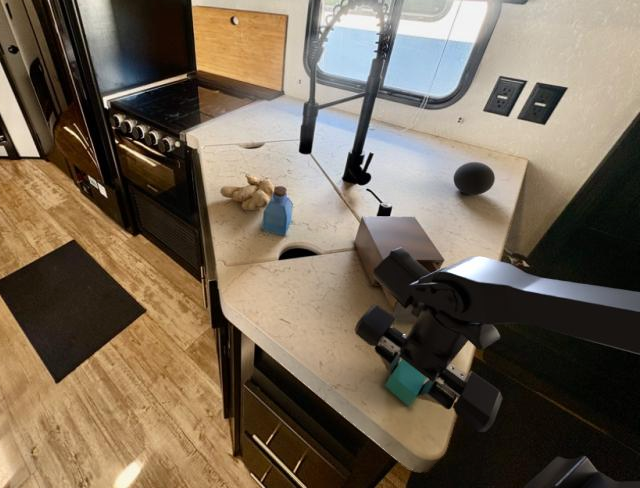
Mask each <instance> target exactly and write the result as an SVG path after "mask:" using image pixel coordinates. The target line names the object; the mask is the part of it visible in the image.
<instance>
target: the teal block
mask: <svg viewBox="0 0 640 488" xmlns="http://www.w3.org/2000/svg"><path fill="white" fill-rule="evenodd" d="M427 380H428V378H427V377H425V376H424V375H423V374H421V373H420V372H419V371H417V370H416V369H415V368H414V367H412V366H411V365H410V364H408V363H407V362H406V361H405V360H403V359H402V358H401V359H400V360H399V363H398V366H397V367H396V369H395V370H394V372H393V373H392V375H391V376H389V378H388V379H387V381H386V383H385V385H384V387H385V388H386V389H388V391H390V392H391V393H392V394H393V395H395V396H396V398H398V399H399V400H401V402H402V403H404V405H406V406H407V407H410V406H411V404H412V403H413V402H414V400H415V399H416V396H417V395H418V393H419V391H420V389H421V388H422V386H423V384H425V383H426V382H427Z"/></svg>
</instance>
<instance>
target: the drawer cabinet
mask: <svg viewBox="0 0 640 488" xmlns="http://www.w3.org/2000/svg"><path fill="white" fill-rule="evenodd" d="M356 231H357V232H356V235H355V238H354V241H353V242H354V244H355V247H356V249H357V252H358V254H359V257H360V259H361V262H362V264H363V267H364V269H365V271H366V274H367V277H368V279H369V281H370V284H371V286H372V287H382V286H381V284H380V283H379V282H378V281H377V280H376V279H375V278H374V277H373V271H374V269H375V268H376V267H377V266H378V265H379V264H380V263H381V262H382V261H383V260H384V259H385V258H386V257H388V256H389V254H390V252H391V251H392V250H394V249H397V248H399V247H402V248H403V249H404V250H406V251H407V252H408V253H409V254H410V256H411V257H412V258H414V259H415V260H416V261H417V262H436V264H437V265H438V267H439V268H440V269H441V268H442V265H444V262H445V258H444V257H443V255H442V254H441V252H440V251H439V249H438V248H437V247H436V245H435V243H433V241H432V240H431V238H430V236H428V234H427V232H426V231H425V230H424V228H423V226H422V225H421V224H420V222H419V221H418V219H417V218H416V216H388V215H387V216H383V215H382V216H378V215H377V216H375V215H373V216H372V215H371V216H370V215H369V216H367V215H366V216H363V215H362V216H361V217H360V222H359V225H358V229H357V230H356Z"/></svg>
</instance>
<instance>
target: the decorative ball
mask: <svg viewBox="0 0 640 488" xmlns="http://www.w3.org/2000/svg"><path fill="white" fill-rule="evenodd" d="M495 181H496V176H495V173H494V170H493V169H492V168H491V167H490V166H488V164H485V163H483V162H480V161H479V162H478V161H471V162H470V161H469V162H466V163H464V164H462V165H461V166H459V167H458V168H457V169H456V170H455V172H454V174H453V183H454V186H455V187H456V189H457V190H458V191H460V192H461V193H463V194H466V195H469V196H479V195H482V194H485V193H487V192H488V191H489V190H490V189H492V187H493V186H494V184H495Z"/></svg>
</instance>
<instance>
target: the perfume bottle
mask: <svg viewBox="0 0 640 488" xmlns="http://www.w3.org/2000/svg"><path fill="white" fill-rule="evenodd" d="M287 195H288V193H287V188H286V187H285V186H282V185H277V186H276V187H275V188H274V192H273V196H272V198H270V200H269V203H268V205H267V206H266V207H264V210H263V216H262V231H265V232H268V233H273V234H277V235H280V236H283V237H285V236H286V234H287V232H288V230H289V227H290V225H291V222H292V216H293V209H294V203H293V201H292V200H291V197H288V196H287Z"/></svg>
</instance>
